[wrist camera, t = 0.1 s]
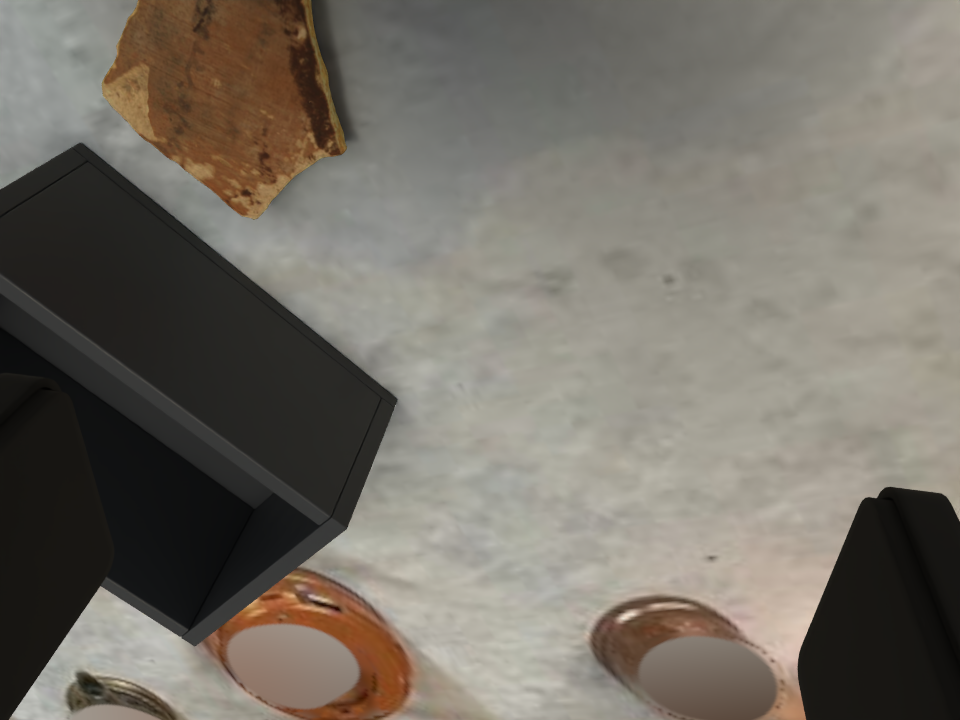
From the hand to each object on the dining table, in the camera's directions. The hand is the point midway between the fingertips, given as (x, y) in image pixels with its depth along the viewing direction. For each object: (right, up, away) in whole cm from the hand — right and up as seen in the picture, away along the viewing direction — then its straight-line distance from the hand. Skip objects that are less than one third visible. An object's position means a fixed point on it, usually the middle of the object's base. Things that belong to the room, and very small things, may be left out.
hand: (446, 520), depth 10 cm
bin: (-12, +2, +25) cm, 28 cm away
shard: (-8, +13, +17) cm, 23 cm away
